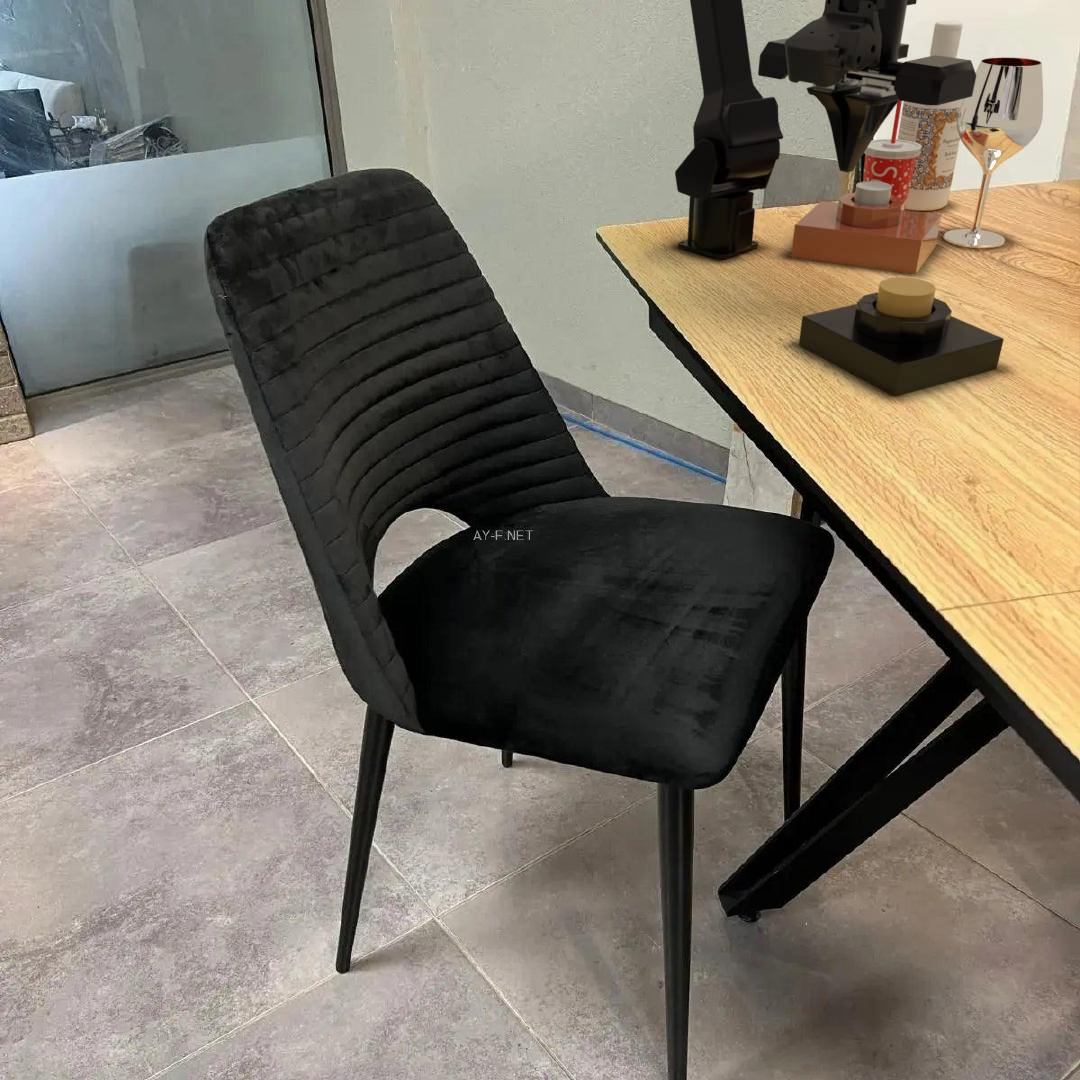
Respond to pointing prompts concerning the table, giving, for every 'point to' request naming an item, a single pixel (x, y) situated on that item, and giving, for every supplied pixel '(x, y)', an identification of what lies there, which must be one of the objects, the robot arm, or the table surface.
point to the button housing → (867, 235)
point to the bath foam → (933, 133)
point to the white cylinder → (872, 193)
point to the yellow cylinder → (905, 297)
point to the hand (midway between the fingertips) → (846, 171)
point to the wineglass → (998, 128)
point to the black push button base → (900, 345)
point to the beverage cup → (892, 161)
